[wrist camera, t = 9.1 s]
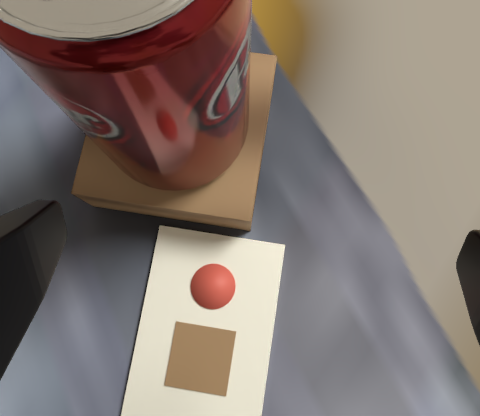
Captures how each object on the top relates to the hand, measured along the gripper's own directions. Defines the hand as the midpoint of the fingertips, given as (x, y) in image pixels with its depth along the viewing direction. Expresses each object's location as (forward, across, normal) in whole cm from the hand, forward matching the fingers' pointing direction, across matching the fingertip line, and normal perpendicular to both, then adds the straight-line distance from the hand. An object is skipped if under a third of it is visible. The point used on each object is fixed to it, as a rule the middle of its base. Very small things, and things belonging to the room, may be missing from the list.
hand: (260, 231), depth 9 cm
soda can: (+12, +4, +3) cm, 13 cm away
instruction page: (+7, +2, +12) cm, 14 cm away
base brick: (+14, +4, +5) cm, 16 cm away
